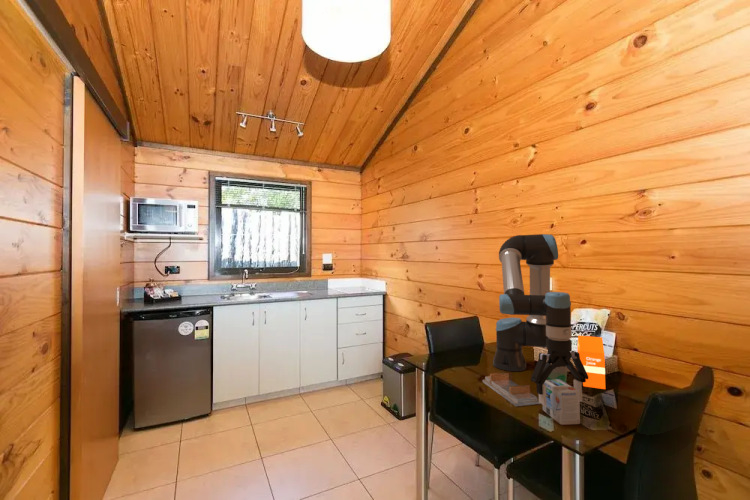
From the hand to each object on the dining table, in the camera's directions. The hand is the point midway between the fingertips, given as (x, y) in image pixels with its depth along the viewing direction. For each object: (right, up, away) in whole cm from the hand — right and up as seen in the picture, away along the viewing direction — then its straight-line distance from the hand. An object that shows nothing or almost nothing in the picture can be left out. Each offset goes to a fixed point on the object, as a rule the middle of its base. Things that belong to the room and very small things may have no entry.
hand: (560, 402), depth 111 cm
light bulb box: (0, -5, 0) cm, 5 cm away
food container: (+12, -6, +23) cm, 26 cm away
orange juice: (+29, -6, +28) cm, 40 cm away
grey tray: (-9, -6, +21) cm, 23 cm away
